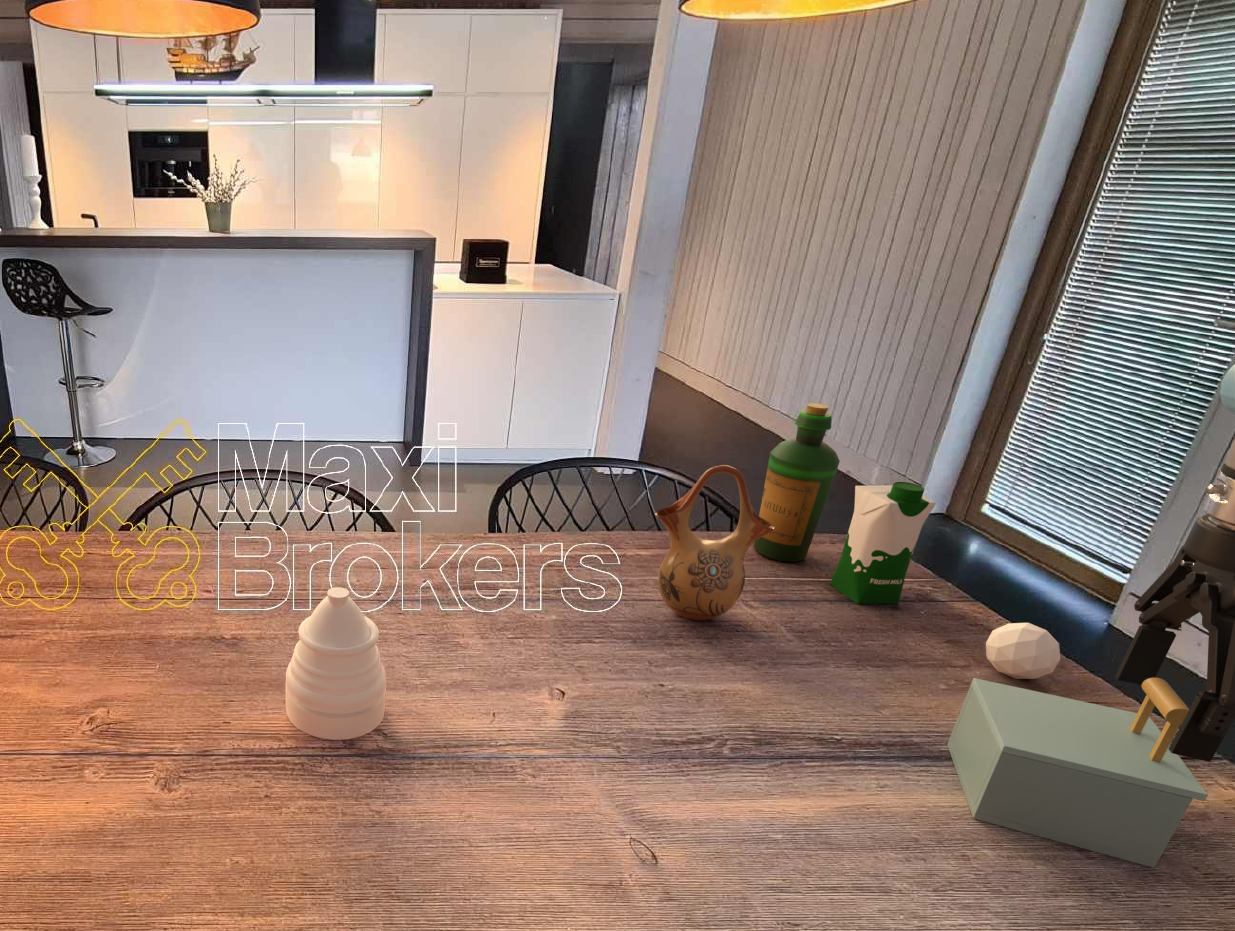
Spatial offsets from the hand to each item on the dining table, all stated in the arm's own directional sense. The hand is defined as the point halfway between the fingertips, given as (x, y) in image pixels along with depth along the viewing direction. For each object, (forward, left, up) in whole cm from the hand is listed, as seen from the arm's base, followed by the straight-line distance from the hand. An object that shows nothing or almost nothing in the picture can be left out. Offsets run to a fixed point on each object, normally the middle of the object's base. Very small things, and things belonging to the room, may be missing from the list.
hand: (1158, 716), depth 82 cm
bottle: (+30, -59, -14) cm, 67 cm away
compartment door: (+5, 0, -4) cm, 7 cm away
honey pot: (+83, +21, -14) cm, 86 cm away
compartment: (+6, 0, -13) cm, 15 cm away
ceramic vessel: (+43, -27, -14) cm, 52 cm away
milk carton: (+18, -48, -14) cm, 53 cm away
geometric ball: (+2, -30, -14) cm, 33 cm away
